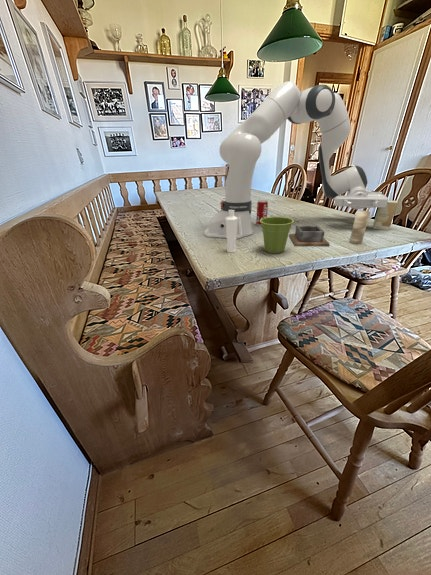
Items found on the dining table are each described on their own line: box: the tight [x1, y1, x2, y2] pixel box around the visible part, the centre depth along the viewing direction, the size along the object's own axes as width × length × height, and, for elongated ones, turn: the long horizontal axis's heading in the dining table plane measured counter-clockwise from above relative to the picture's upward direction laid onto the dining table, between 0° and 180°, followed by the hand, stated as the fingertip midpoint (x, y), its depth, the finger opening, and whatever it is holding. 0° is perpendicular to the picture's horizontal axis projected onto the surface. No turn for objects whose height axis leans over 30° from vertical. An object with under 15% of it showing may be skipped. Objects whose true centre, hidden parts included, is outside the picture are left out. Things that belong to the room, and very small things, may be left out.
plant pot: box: [260, 216, 295, 254], centre depth 90 cm, size 12×12×11 cm
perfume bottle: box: [225, 210, 238, 253], centre depth 90 cm, size 5×4×15 cm
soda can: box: [255, 199, 269, 227], centre depth 122 cm, size 5×5×12 cm
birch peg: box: [349, 209, 371, 245], centre depth 95 cm, size 4×4×12 cm
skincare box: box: [372, 199, 399, 231], centre depth 111 cm, size 6×4×12 cm
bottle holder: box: [288, 225, 330, 247], centre depth 100 cm, size 13×13×5 cm
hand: (361, 204), depth 102 cm, fingers open, 8 cm apart
